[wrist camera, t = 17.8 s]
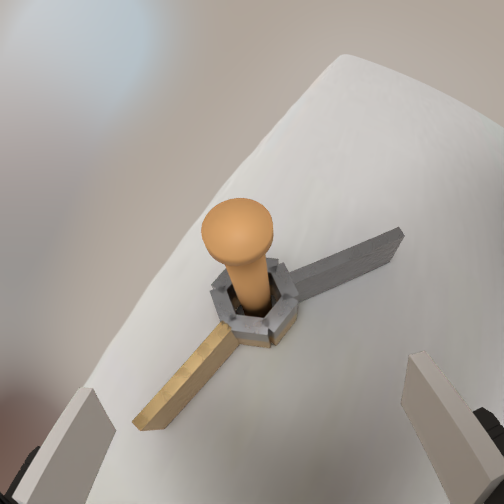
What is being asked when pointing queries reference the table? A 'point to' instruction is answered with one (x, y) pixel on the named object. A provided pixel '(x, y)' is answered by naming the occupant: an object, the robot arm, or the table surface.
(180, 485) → the table surface
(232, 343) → the hinge leaf
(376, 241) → the hinge leaf
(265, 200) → the table surface
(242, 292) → the hinge pin
